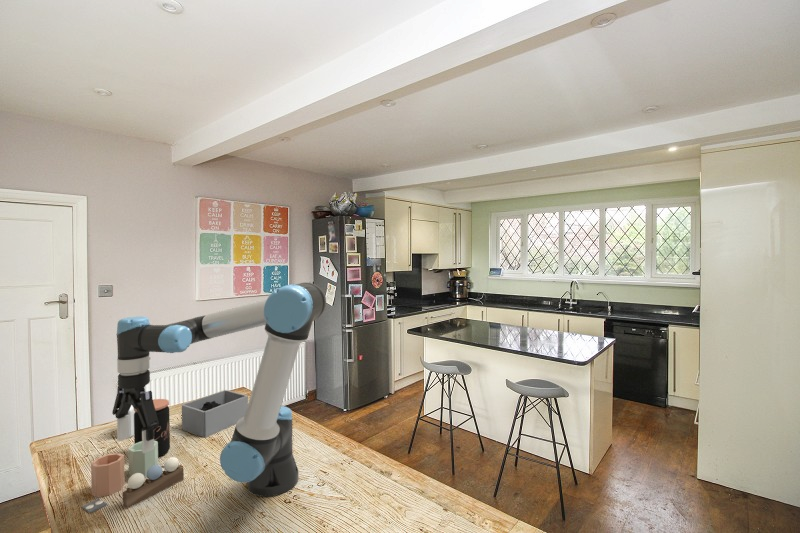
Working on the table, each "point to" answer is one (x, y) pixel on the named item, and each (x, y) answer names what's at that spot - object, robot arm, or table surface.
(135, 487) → the cream ball
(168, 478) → the rack
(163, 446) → the coffee jar
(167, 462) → the cream ball
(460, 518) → the table surface
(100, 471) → the tubes
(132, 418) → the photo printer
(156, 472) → the blue ball
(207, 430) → the box
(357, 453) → the table surface
